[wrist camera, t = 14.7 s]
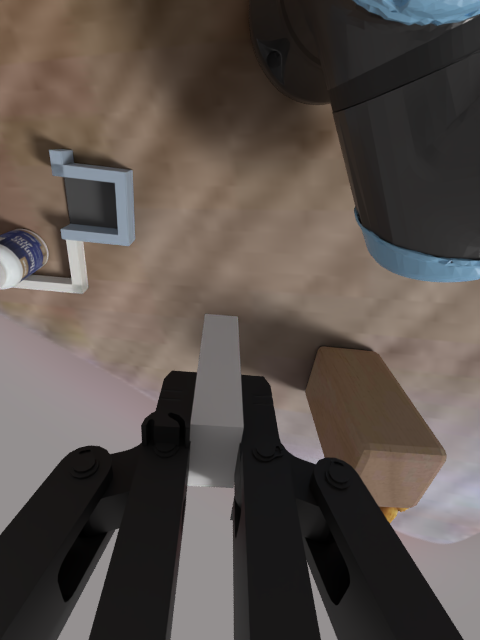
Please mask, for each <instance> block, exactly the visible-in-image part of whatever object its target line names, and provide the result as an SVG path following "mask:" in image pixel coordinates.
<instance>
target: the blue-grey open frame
mask: <svg viewBox="0 0 480 640" xmlns="http://www.w3.org/2000/svg"><path fill="white" fill-rule="evenodd" d="M49 154H50V161H51V167H52V174H53V176H61V177H69V178H78V179H86V180H95V181H103V182H112V183H115V193H116V209H117V224H118V229H115V228H106V227H96V226H87V225H78V224H69V225H67V226H65V227H63V228H61V236H62V239H66V240H75V241H85V242H95V243H104V244H114V245H124V246H129V245H130V244H131V243H132V242H133V241H134V240H135V223H134V197H133V171H132V170H128V169H120V168H112V167H104V166H95V165H87V164H79V163H74V158H73V150H66V149H54V150H49Z"/></svg>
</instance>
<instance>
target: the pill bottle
mask: <svg viewBox="0 0 480 640" xmlns="http://www.w3.org/2000/svg"><path fill="white" fill-rule="evenodd" d="M48 255H49V254H48V249H47V246H46V244H45V242H44V241H43V240H42V239H41V238H40V237H39V236H38V235H37V234H36V233H34V232H32V231H30V230H26V229H15V230H12V231H9V232H7V233H4V234H2V235H0V289H8V288H11V287H13V286H15V285H17V284H18V283H20V282H21V281H22V280H24V279H25V278H27V277H28V276H30V275H31V274H33V273H34V272H35V271H37V270H38V269H40V268H41V267H42V266H44V265H45V264H46V262H47V260H48Z"/></svg>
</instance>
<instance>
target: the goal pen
mask: <svg viewBox="0 0 480 640" xmlns="http://www.w3.org/2000/svg"><path fill="white" fill-rule="evenodd" d="M66 243H67V250H68V257H69V264H70V271H71V278H64V277H53V276H43V275H32V274H31V275H30V276H28V277H27V278H25V279H24V280H22V281H21V282H20V283H18V284H17V285H15V286H13V288H24V289H35V290H46V291H57V292H68V293H80V294H83V293H84V292H85V291H86V290H87V289H88V279H87V271H86V262H85V253H84V245H83V241H75V240H66Z"/></svg>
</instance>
